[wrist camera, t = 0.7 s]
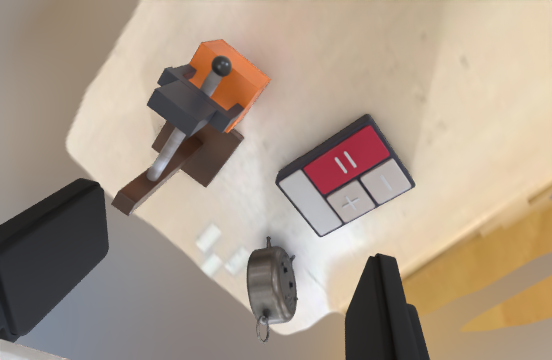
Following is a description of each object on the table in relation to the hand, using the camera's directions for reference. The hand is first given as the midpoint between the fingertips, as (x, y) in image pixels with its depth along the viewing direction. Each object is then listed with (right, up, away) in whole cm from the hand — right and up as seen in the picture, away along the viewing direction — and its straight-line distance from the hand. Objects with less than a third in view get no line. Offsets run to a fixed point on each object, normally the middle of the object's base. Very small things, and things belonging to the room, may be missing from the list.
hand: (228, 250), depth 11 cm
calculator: (+11, +3, +35) cm, 36 cm away
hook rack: (-6, +12, +34) cm, 36 cm away
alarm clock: (+3, -10, +43) cm, 44 cm away
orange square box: (-3, +14, +27) cm, 31 cm away
